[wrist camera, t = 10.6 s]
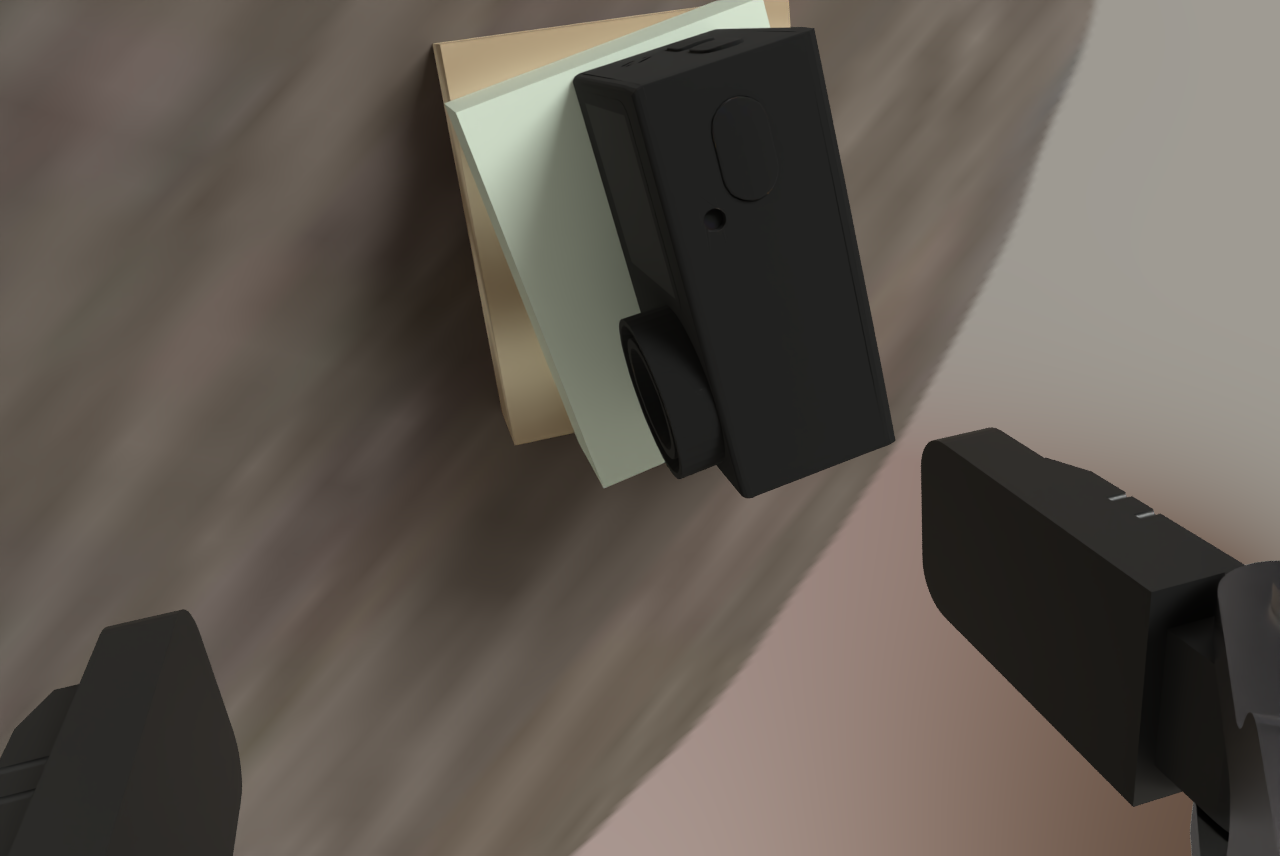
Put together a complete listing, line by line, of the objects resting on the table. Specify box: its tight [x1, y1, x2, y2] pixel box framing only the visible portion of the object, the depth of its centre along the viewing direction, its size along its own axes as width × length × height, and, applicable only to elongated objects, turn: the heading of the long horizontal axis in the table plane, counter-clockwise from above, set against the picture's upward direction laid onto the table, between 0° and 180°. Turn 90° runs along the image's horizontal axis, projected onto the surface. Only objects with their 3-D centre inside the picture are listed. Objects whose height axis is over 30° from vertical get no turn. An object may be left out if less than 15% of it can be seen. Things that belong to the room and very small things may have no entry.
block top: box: [444, 0, 770, 488], centre depth 32 cm, size 12×9×4 cm
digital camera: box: [573, 27, 895, 498], centre depth 27 cm, size 10×5×7 cm, turn 16°
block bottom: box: [433, 0, 790, 445], centre depth 36 cm, size 13×11×4 cm
